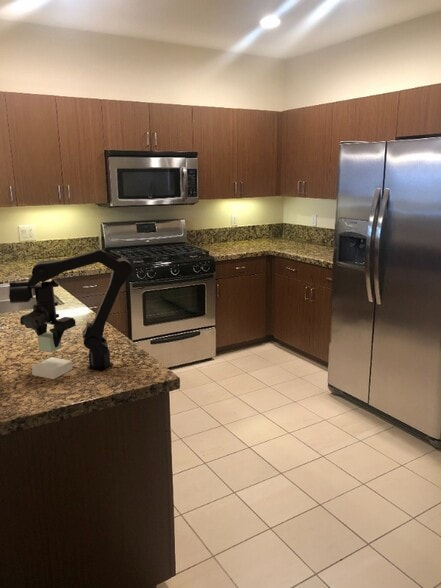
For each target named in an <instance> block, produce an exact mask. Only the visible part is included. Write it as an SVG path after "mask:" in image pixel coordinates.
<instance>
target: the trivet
mask: <svg viewBox="0 0 441 588" xmlns="http://www.w3.org/2000/svg"><path fill="white" fill-rule="evenodd" d="M72 370H73V361H72V360H68V359H63V358H57V357H53V356H51V357H48V358H46V359H44V360H42V361H40V362H38V363H36V364H34V365H32V366H31V373H32V376H36V377H41V378H46V379H51V380H55V379H57V378H59V377H61V376H63V375H64V374H66V373H68V372H70V371H72Z"/></svg>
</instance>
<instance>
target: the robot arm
mask: <svg viewBox="0 0 441 588" xmlns="http://www.w3.org/2000/svg"><path fill="white" fill-rule="evenodd" d="M98 263H99V264H101V265H103V266H104V267H106V268H108V269H109V270H111V274H110V278H109V283H108V286H107V288H106V291H105V293H104V294H103V297H102V299H101V302H100V305H99V306H98V308H97V312H96V314H95V316H94V318H93V320H92V321H91V322H89V321H86V323H85V328H84V329H83V330H82V339H83V345H84V347H85V348H86V349H88V363H89V365H88V366H87V368H86V369H88V370H92V371H98V372H104V371H105V370H107V369H108V368H111V367H112V366H113V365H114V363H113V362H111V356H110V355H111V353H110V349H109V346H108V345H109V344H108V339H106V338H105V337H103V336H104V330H105V326H106V323H107V321H108V318H109V316H110V314H111V312H112V309H113V307H114V304H115V302H116V299H117V298H118V294H119V292H120V290H121V288H122V287H123V285H124V284H125V283H126V282H127V280H128V279H129V277H130V276H131V274H132V273H133V267H132V264H131V263H130V261H129V260H128V259H127V258H124V257H120V258H119V257H117V256H115V255H113V254H111V253H109V252H107V251H105V250H104V249H103V248H96V249H95V250H91V251H86V252H84V253H81V254H76V255H73V256H69V257H66V258H62V259H49V260H40V261H38V262H36V263H35V264H34V266H33V267H32V269H31V276H30V277H28V279H27V281H10V282H9V285H8V286H9V289H8V290H9V294H8V297H9V303H10V304H20V303H30V302H31V300H32V299H34V296H35V304H33V305H32V310H31V311H30V312H29V313H27V314H23V315H21V316H20V318H19V322H20V325H21V326H25V328H26V329H31V330H33V331H34V332H35V334H36V335H37V337H38V336H39V335H42V334H44V333H46V332H48V325H51V326H53V328H51V329H49V332H52V333H53V340H54V345H55V347H58V346H59V343H60V340H61V341H62V338H63V335H64V333H65V331H67V330H69V329H72V328H74V327H76V326H77V325H76V324H77V323H76V319H75V318H74V317H69V316H64V317H61V318H60V314H59V313H57V309H56V307H57V306H58V305H59V303H58V301H56V299H55V290H54V288H58V287H59V286H60V282H58V281H57V280H55V277H57V276H59V275H60V274H62V273H65V272H68V271H72V270H76V269H78V268H83V267H86V266H89V265H94V264H98ZM40 282H41V283H40ZM39 283H40V284H39ZM58 318H59V319H58Z"/></svg>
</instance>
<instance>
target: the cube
mask: <svg viewBox="0 0 441 588" xmlns="http://www.w3.org/2000/svg"><path fill="white" fill-rule="evenodd" d="M37 342H38V344H37V345H38V350H39V351H40V352H46V353H54V352H55V351H57V350H60V349H61V348H62V339H61V340H60V343H59V346H58V347H55V345H54V340H53V333H52V332H51V331H47V332H46V333H44V334H42V335H39V336H38V335H37Z"/></svg>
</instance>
